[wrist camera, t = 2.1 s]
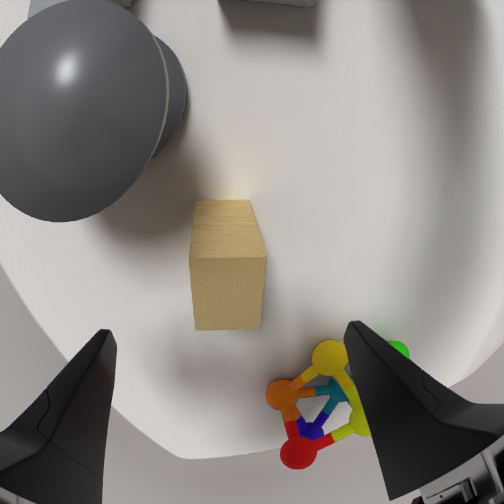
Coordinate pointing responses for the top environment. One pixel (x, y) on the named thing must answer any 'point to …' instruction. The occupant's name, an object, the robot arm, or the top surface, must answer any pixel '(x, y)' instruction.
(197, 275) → the tan wooden block
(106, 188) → the bobbin
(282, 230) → the top surface
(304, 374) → the molecular model
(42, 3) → the notch board
